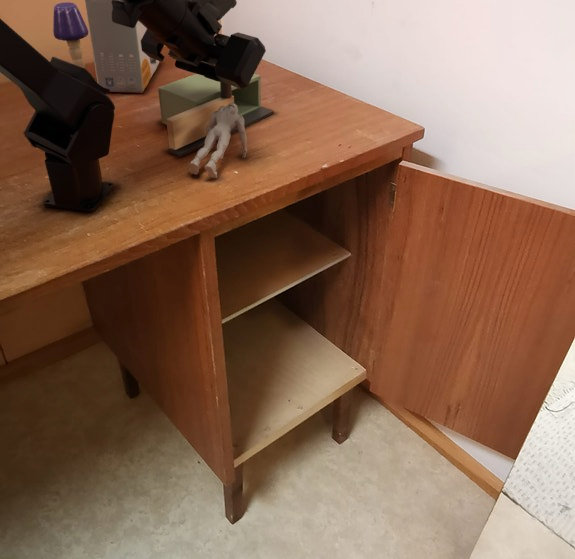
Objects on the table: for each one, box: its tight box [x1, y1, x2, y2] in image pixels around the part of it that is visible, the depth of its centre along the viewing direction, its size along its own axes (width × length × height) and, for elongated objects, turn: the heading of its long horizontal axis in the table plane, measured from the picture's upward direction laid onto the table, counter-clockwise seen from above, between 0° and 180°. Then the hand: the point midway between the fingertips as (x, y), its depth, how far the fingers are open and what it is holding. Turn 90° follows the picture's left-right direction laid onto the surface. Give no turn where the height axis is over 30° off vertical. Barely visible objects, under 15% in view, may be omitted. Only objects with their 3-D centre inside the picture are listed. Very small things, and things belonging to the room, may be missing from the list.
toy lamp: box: [52, 2, 89, 68], centre depth 87 cm, size 5×5×17 cm
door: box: [166, 82, 234, 150], centre depth 85 cm, size 12×2×10 cm, turn 141°
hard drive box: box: [84, 0, 160, 94], centre depth 101 cm, size 16×8×20 cm, turn 179°
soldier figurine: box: [188, 103, 248, 179], centre depth 82 cm, size 6×5×12 cm
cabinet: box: [157, 73, 275, 158], centre depth 91 cm, size 20×10×6 cm, turn 141°
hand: (232, 80), depth 88 cm, fingers closed on door, 2 cm apart
